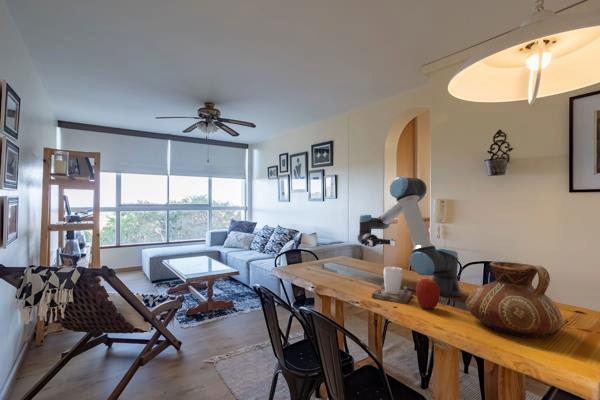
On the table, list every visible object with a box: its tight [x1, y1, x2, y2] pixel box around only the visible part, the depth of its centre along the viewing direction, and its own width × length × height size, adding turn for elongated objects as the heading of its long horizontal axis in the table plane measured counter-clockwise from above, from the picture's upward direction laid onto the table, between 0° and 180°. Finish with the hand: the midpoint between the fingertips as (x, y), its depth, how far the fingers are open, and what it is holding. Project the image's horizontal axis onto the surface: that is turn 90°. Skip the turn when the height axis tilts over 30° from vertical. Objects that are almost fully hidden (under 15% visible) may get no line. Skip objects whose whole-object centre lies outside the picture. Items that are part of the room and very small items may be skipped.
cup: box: [383, 265, 403, 294], centre depth 153 cm, size 9×9×12 cm
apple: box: [415, 278, 441, 310], centre depth 137 cm, size 10×10×14 cm
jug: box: [465, 261, 563, 338], centre depth 119 cm, size 30×30×25 cm
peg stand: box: [371, 283, 413, 305], centre depth 153 cm, size 16×16×4 cm
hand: (383, 243), depth 170 cm, fingers open, 13 cm apart
